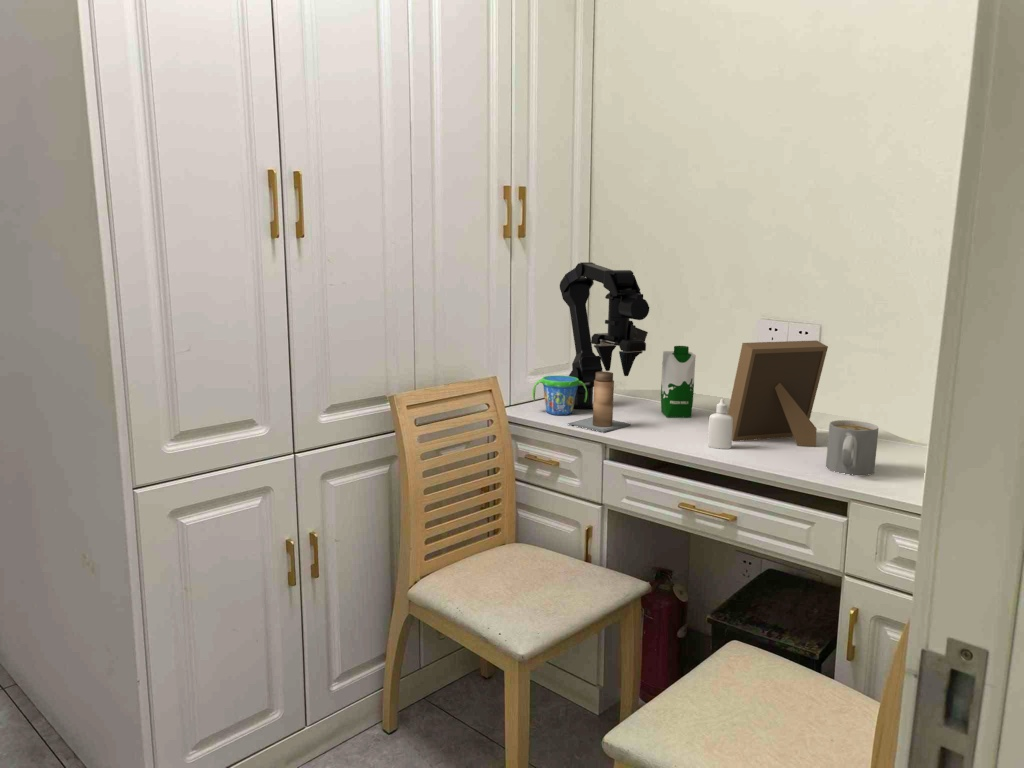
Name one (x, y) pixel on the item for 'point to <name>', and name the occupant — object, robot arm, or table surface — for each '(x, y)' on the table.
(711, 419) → the eye dropper bottle
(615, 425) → the coaster
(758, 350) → the photo frame
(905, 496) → the table surface
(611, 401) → the shaker
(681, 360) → the milk carton
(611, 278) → the robot arm
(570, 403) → the snack cup
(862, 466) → the coffee mug
